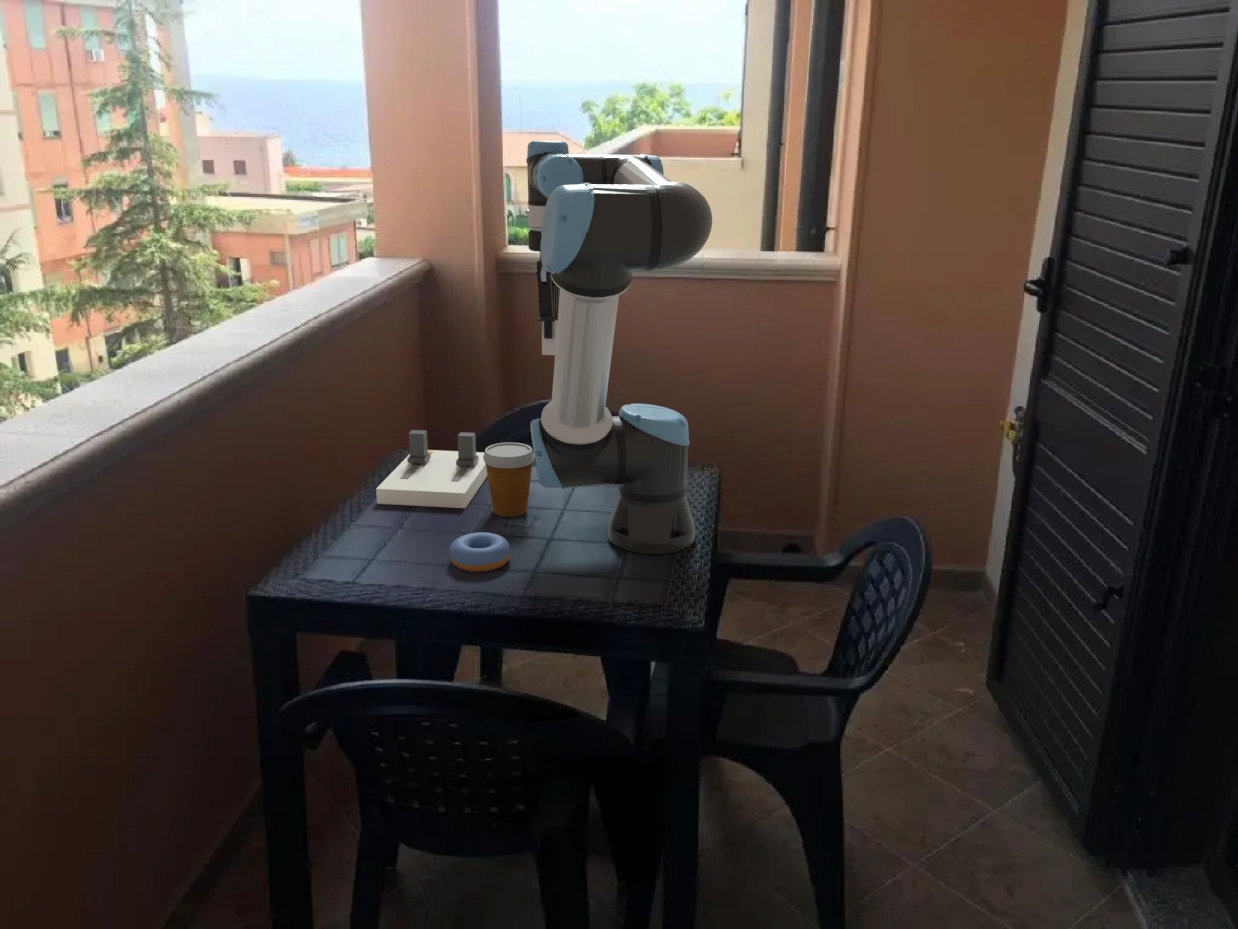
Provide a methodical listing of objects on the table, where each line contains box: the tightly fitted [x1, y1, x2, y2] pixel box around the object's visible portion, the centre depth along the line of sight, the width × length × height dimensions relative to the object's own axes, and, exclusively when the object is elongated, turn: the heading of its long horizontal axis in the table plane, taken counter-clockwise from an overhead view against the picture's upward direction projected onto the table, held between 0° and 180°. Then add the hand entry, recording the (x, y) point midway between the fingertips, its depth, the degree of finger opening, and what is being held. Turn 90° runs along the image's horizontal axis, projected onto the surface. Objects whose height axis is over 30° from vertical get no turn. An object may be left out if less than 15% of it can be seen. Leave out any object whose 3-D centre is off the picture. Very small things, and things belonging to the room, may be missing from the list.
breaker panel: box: [375, 449, 488, 509], centre depth 194 cm, size 24×17×3 cm
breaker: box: [456, 431, 479, 466], centre depth 196 cm, size 4×4×6 cm
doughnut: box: [449, 531, 511, 573], centre depth 160 cm, size 10×10×5 cm
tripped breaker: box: [407, 429, 431, 464], centre depth 197 cm, size 4×4×6 cm
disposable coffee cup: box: [483, 441, 535, 518], centre depth 180 cm, size 10×10×12 cm
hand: (549, 353), depth 188 cm, fingers closed
